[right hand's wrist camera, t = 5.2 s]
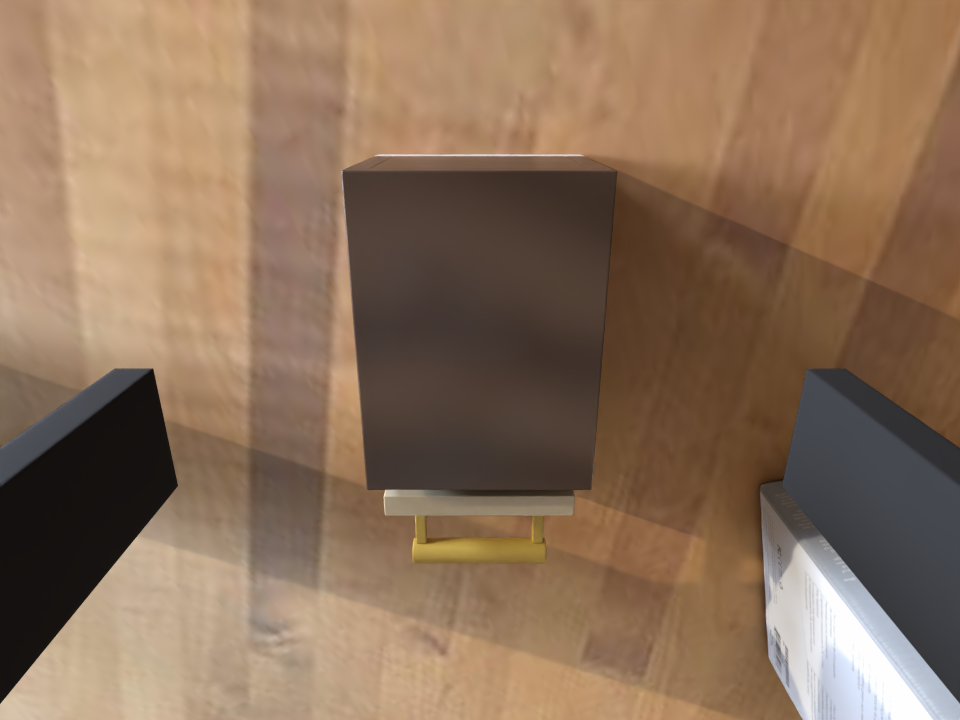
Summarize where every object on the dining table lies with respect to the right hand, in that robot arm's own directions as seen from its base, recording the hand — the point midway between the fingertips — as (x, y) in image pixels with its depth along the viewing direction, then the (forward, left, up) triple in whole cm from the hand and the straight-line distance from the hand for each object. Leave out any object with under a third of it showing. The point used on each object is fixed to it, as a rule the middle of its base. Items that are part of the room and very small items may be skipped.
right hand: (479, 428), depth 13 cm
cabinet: (+1, -3, -23) cm, 23 cm away
